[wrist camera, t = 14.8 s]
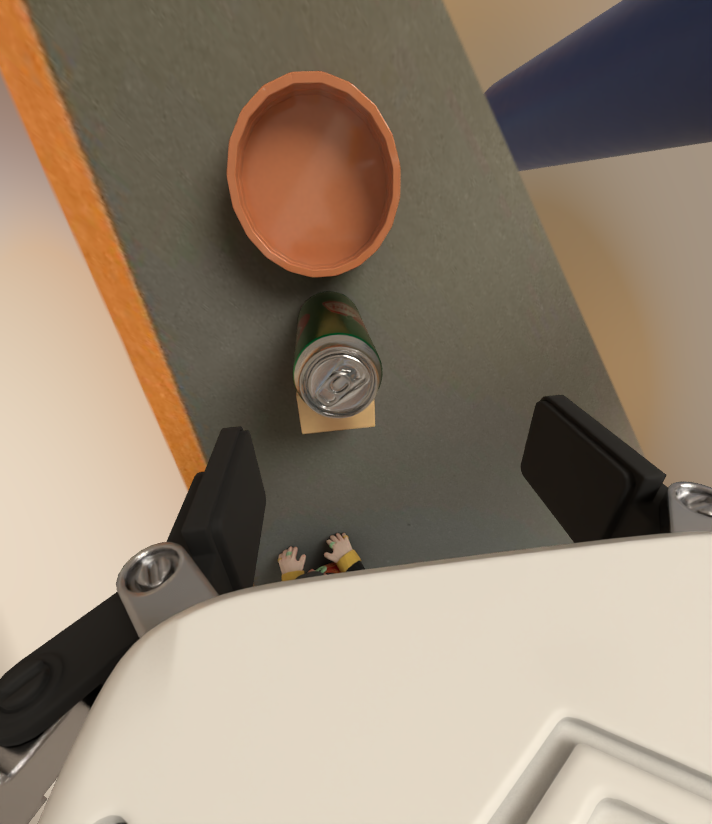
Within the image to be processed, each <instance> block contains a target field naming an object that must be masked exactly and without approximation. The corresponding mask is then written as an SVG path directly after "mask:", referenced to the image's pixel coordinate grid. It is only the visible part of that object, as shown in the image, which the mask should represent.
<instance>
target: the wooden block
mask: <svg viewBox="0 0 712 824" xmlns="http://www.w3.org/2000/svg"><path fill="white" fill-rule="evenodd" d="M296 397H297V403H298V410H299V416H300V423H301V429H302V434H308V433H317V432H327V431H336V430H346V429H355V428H365V427H374V426H375V406H374V400H373V401H372V402H371V404H370V405H369V406H368V407H367V408H366V409H364V410H363V411H362V412H360V413H358V414H356V415H354V416H351V417H347V418H328V417H325V416H322V415H320V414H318V413H316V412H315V411H313V410H312V409H311V408H310V407H309V406H308V405H307V404H306V403H305V402H304V401H303V400H302V399H301V397H300V396H299V394H298V393H296Z"/></svg>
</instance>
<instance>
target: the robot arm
mask: <svg viewBox="0 0 712 824" xmlns="http://www.w3.org/2000/svg"><path fill="white" fill-rule="evenodd" d="M521 472H522V474H523V476H524V477H525V479H526V480H527V481H528V483H529V484H530V485H531V486H532V488H533V489H534V490H535V492H536V493H537V494H538V496H539V497H540V498H541V500H542V501H543V502H544V503H545V505H546V506H547V507H548V509H549V510H550V511H551V513H552V514H553V515H554V517H555V518H556V519H557V520H558V522H559V523H560V524H561V526H562V527H563V528H564V530H565V531H566V532H567V534H568V535H569V536H570V538H571V539H572V540H573V541H574V543H571V544H563V545H555V546H547V547H538V548H530V549H522V550H514V551H506V552H498V553H490V554H482V555H474V556H466V557H458V558H450V559H443V560H435V561H427V562H419V563H411V564H404V565H396V566H389V567H381V568H374V569H366V570H358V571H351V572H343V573H336V574H329V575H322V576H315V577H309V578H302V579H295V580H288V581H282V582H275V583H270V584H265V585H260V586H255V587H253V582H254V576H255V569H256V563H257V557H258V550H259V544H260V537H261V531H262V525H263V518H264V512H265V506H266V496H265V491H264V487H263V483H262V479H261V475H260V471H259V467H258V463H257V459H256V455H255V451H254V447H253V443H252V439H251V435H250V432H249V431H248V430H246V431H244V430H243V428H242V427H241V426H240V427H230V428H223V429H222V430H221V432H220V434H219V437H218V439H217V442H216V444H215V447H214V449H213V452H212V454H211V457H210V459H209V462H208V464H207V467H206V469H205V472H199V473H197V474H196V475H195V477H194V479H193V481H192V484H191V486H190V488H189V491H188V493H187V495H186V498H185V500H184V502H183V505H182V507H181V509H180V512H179V514H178V516H177V519H176V521H175V523H174V526H173V528H172V530H171V533H170V535H169V537H168V540H167V542H162V543H158V544H155V545H151V546H149V547H147V548H145V549H143V550H141V551H140V552H139V553H137V554H136V555H135V556H133V557H132V558H131V559H130V560H129V561H128V562H127V563H126V564H125V565H124V566H123V568H122V570H121V572H120V573H119V574H118V578H117V582H116V586H117V592H116V593H115V594H114V595H112V596H111V597H110V598H108V599H107V600H105V601H104V602H102V603H101V604H100V605H98V606H97V607H96V608H94V609H93V610H91V611H90V612H88V613H87V614H86V615H84V616H83V617H81V618H80V619H79V620H77V621H76V622H74V623H73V624H72V625H70V626H69V627H67V628H66V629H65V630H63V631H62V632H60V633H59V634H58V635H56V636H55V637H54V638H52V639H51V640H49V641H48V642H46V643H45V644H44V645H42V646H41V647H39V648H38V649H36V650H35V651H34V652H32V653H31V654H29V655H28V656H27V657H25V658H24V659H22V660H21V661H20V662H19V663H17V664H16V665H15V666H14V667H12V668H11V669H10V670H9V671H7V672H6V673H5V674H4V675H3V676H2V678H1V679H0V824H28V823H29V822H30V821H31V819H32V818H33V817H34V816H35V814H36V813H37V812H38V810H39V809H40V808H41V806H42V805H43V804H44V803H45V801H46V800H47V798H46V797H45V796H43V795H44V794H45V793H46V791H47V790H48V789H49V788H50V786H51V785H52V784H53V783H54V781H55V780H56V779H57V780H56V783H55V785H54V787H53V789H52V792H51V794H50V796H49V798H48V801H47V803H46V805H45V808H44V810H43V812H42V814H41V817H40V819H39V821H38V823H37V824H712V488H711V487H708V486H705V485H702V484H698V483H692V482H676V483H673V484H671V485H670V486H669V487H666V486H665V485H664V484H663V481H664V479H665V477H666V474H665V473H663V472H662V471H661V470H659V469H658V468H657V467H655V466H654V465H653V464H651V463H650V462H649V461H648V460H646V459H645V458H644V457H643V456H641V455H640V454H639V453H637V452H636V451H635V450H634V449H632V448H631V447H630V446H628V445H627V444H626V443H625V442H623V441H622V440H621V439H619V438H618V437H617V436H616V435H614V434H613V433H612V432H610V431H609V430H608V429H607V428H605V427H604V426H603V425H601V424H600V423H599V422H598V421H596V420H595V419H594V418H592V417H591V416H590V415H589V414H587V413H586V412H585V411H583V410H582V409H581V408H579V407H578V406H577V405H576V404H574V403H573V402H572V401H570V400H569V399H568V398H567V397H565V396H563V395H555V396H545V397H543V398H542V399H541V400H540V401H539V402H537V403H536V406H535V409H534V413H533V417H532V421H531V425H530V429H529V433H528V437H527V442H526V446H525V450H524V454H523V458H522V462H521ZM57 777H58V778H57Z"/></svg>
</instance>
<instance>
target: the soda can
mask: <svg viewBox="0 0 712 824" xmlns="http://www.w3.org/2000/svg"><path fill="white" fill-rule="evenodd" d="M293 381H294V386H295V388H296V391H297V393H298V394H299V396H300V397H301V399H302V400H303V401H304V402H305V403H306V404H307V405H308V406H309V407H310V408H311V409H312V410H313V411H315V412H316V413H318V414H320V415H322V416H325V417H328V418H347V417H351V416H354V415H356V414H358V413H360V412H362V411H363V410H364V409H366V408H367V407H368V406H369V405H370V404H371V402H372V401H373V400H374V398H375V396H376V394H377V391H378V389H379V387H380V384H381V381H382V365H381V361H380V358H379V356H378V353H377V351H376V349H375V347H374V345H373V343H372V340H371V338H370V336H369V334H368V332H367V329H366V327H365V325H364V323H363V321H362V318H361V316H360V314H359V312H358V310H357V308H356V306H355V304H354V303H353V302H352V301H351V300H350V299H349V298H348V297H346V296H345V295H343V294H340V293H338V292H332V291H326V292H320V293H317V294H315V295H313V296H312V297H310V298H309V299H308V300H307V301H306V302H305V303H304V304H303V306H302V308H301V310H300V312H299V316H298V325H297V335H296V345H295V355H294V366H293Z"/></svg>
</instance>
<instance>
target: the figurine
mask: <svg viewBox="0 0 712 824" xmlns="http://www.w3.org/2000/svg"><path fill="white" fill-rule="evenodd" d="M336 537H337V538H336ZM336 537H335V536H334V535H331V536H330V539H331V540H330V539H329V540H327V544H328V545H329V546H330V548H331V549H333V553H332V554H330V553H328V552H326V553H325V554H324V556H325V557H326V558H327V559H329V560H331V561H333V562H335V563H330V564H327V565H324V566H321V567H319V568H318V569H317V570H316V571H315V570H313V569H311V570H310V571H308V573H305V574H304V571H302V569H303V566H304V563H305V559H306V555H302V556H301V558H300V560H299V561H297V560H296V555H297V551H298V548H297V547H294V548H293V547H291V546H290V547H289V548H288V551H287V550H284V551H283V554H279V558H278V562H279V565H280V569H281V572H282V576H281V578H282V581H288V580H295V579H302V578H309V577H315V576H322V575H329V574H336V573H343V572H351V571H358V570H365V568H364V567H363V565H362V563H361V562H360V561H361V559H360V558H359V556H358V555H357V553H356V552H355V550H353V549H352V547H351V544H350V542H349V540H348V538H349V537H348V536H347V535H346V534H345V533H342V536H341V535H340V533H337V534H336Z"/></svg>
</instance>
